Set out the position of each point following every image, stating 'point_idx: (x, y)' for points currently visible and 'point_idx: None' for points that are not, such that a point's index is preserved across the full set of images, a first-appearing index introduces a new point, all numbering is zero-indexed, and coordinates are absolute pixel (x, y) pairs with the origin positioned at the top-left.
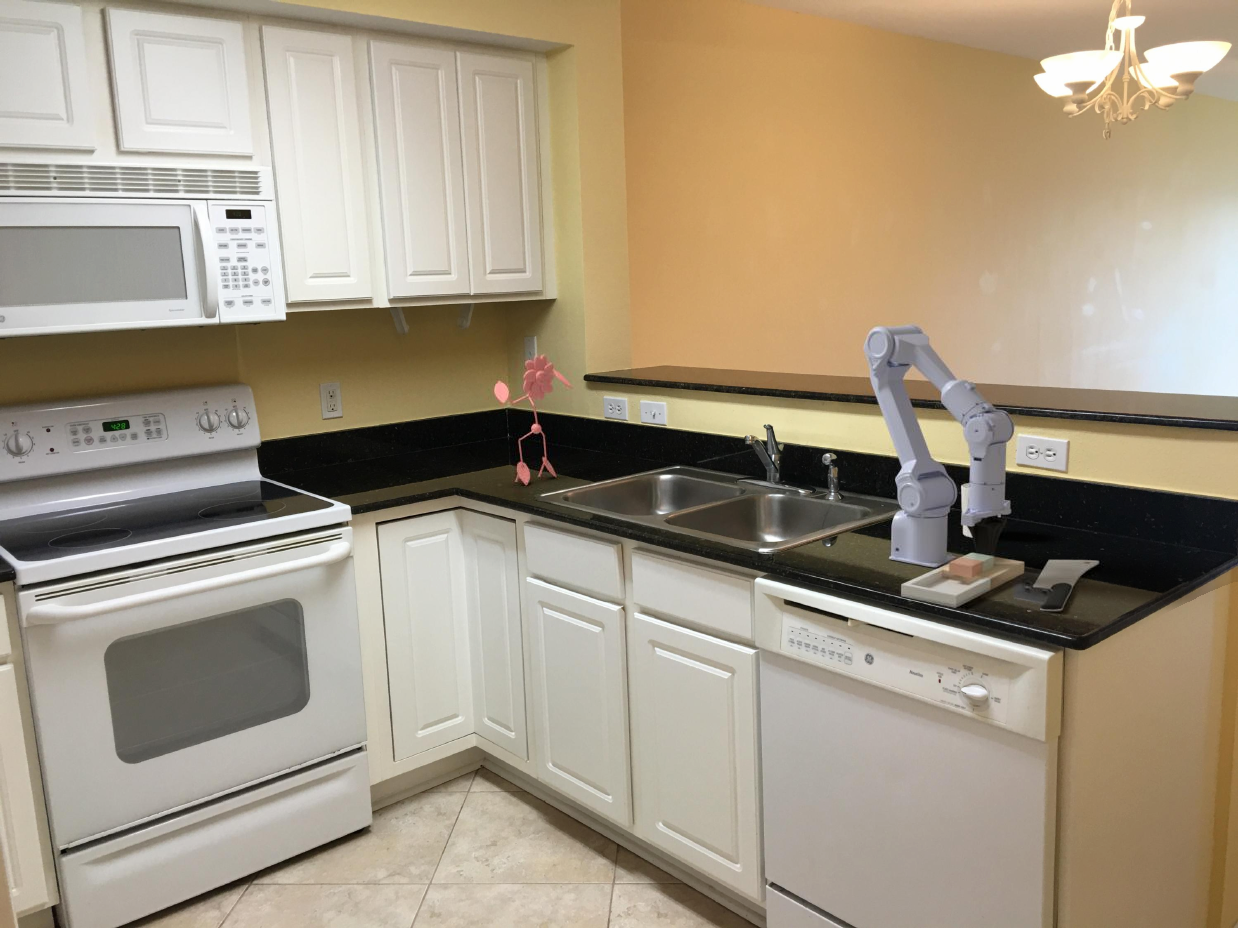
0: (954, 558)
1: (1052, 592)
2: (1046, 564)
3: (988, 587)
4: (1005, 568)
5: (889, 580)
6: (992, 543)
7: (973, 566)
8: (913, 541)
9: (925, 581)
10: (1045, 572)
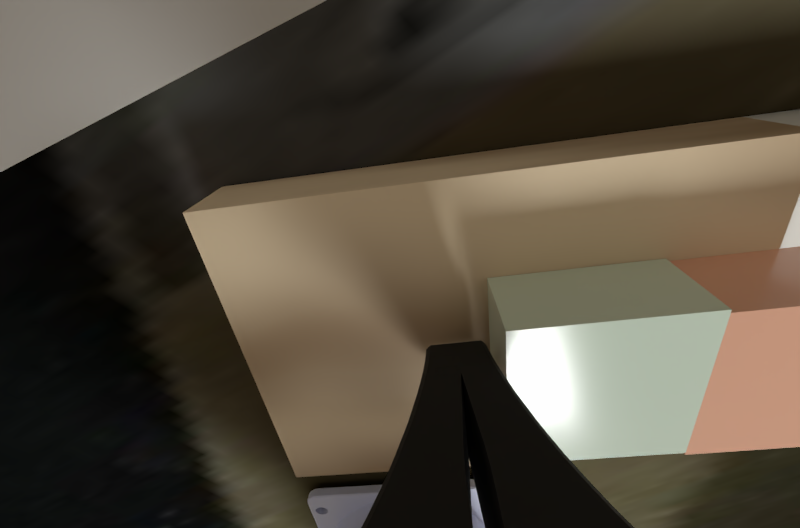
0: (324, 491)
1: None
2: None
3: (791, 117)
4: (450, 211)
5: (769, 492)
6: (529, 448)
7: None
8: None
9: None
10: (81, 91)
